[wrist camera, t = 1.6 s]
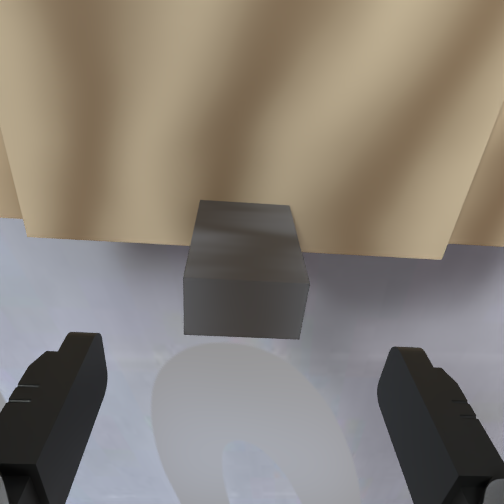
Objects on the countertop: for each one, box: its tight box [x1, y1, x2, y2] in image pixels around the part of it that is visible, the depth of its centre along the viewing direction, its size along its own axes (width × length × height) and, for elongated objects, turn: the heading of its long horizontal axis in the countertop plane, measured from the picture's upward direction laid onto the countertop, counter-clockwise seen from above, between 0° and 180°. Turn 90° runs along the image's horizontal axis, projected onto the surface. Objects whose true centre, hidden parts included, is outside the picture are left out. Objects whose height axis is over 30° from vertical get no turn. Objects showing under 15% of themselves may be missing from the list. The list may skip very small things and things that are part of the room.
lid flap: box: [0, 0, 504, 339], centre depth 12 cm, size 20×18×7 cm
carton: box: [0, 101, 504, 247], centre depth 20 cm, size 33×18×12 cm, turn 85°
